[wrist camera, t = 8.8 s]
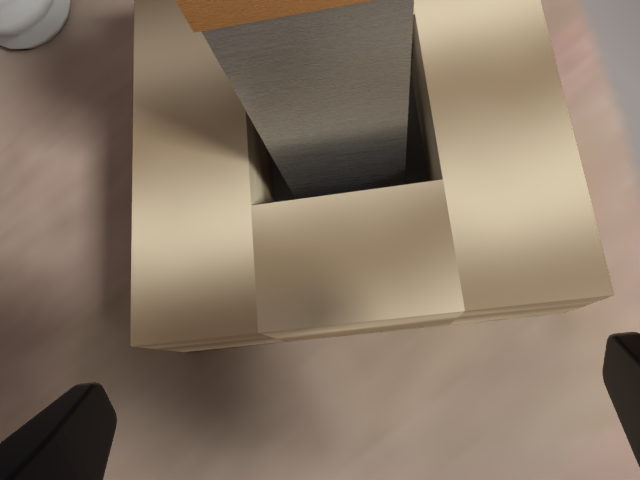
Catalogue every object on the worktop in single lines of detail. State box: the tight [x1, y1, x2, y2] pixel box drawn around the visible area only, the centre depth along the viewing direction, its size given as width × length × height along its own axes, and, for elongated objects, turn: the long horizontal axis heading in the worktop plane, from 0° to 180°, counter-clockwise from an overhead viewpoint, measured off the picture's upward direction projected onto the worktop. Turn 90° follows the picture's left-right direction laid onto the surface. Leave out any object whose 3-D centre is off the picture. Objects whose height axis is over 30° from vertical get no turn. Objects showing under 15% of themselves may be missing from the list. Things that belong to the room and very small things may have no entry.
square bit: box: [175, 0, 414, 199], centre depth 14 cm, size 4×4×13 cm
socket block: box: [130, 0, 614, 352], centre depth 18 cm, size 14×14×4 cm
